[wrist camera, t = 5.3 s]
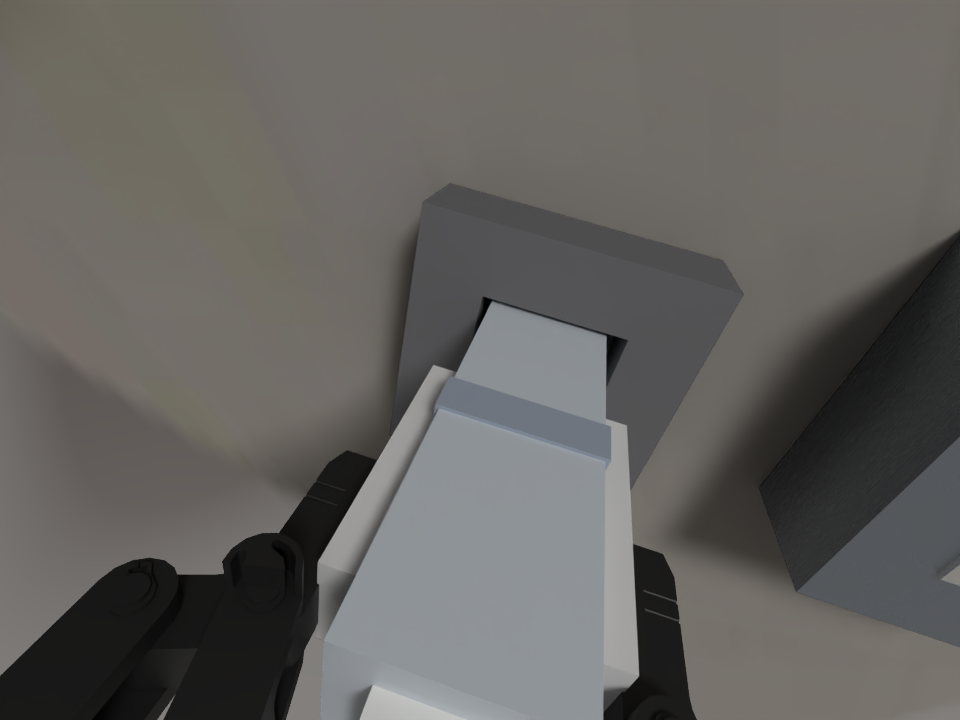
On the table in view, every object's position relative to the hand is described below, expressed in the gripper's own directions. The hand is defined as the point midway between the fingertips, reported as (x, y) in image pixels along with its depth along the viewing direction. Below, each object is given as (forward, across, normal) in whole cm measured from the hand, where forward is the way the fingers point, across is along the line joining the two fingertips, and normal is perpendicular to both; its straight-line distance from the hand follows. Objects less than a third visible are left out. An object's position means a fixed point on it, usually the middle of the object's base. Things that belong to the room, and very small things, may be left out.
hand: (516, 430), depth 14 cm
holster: (+6, 0, 0) cm, 6 cm away
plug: (+4, 0, 0) cm, 4 cm away
